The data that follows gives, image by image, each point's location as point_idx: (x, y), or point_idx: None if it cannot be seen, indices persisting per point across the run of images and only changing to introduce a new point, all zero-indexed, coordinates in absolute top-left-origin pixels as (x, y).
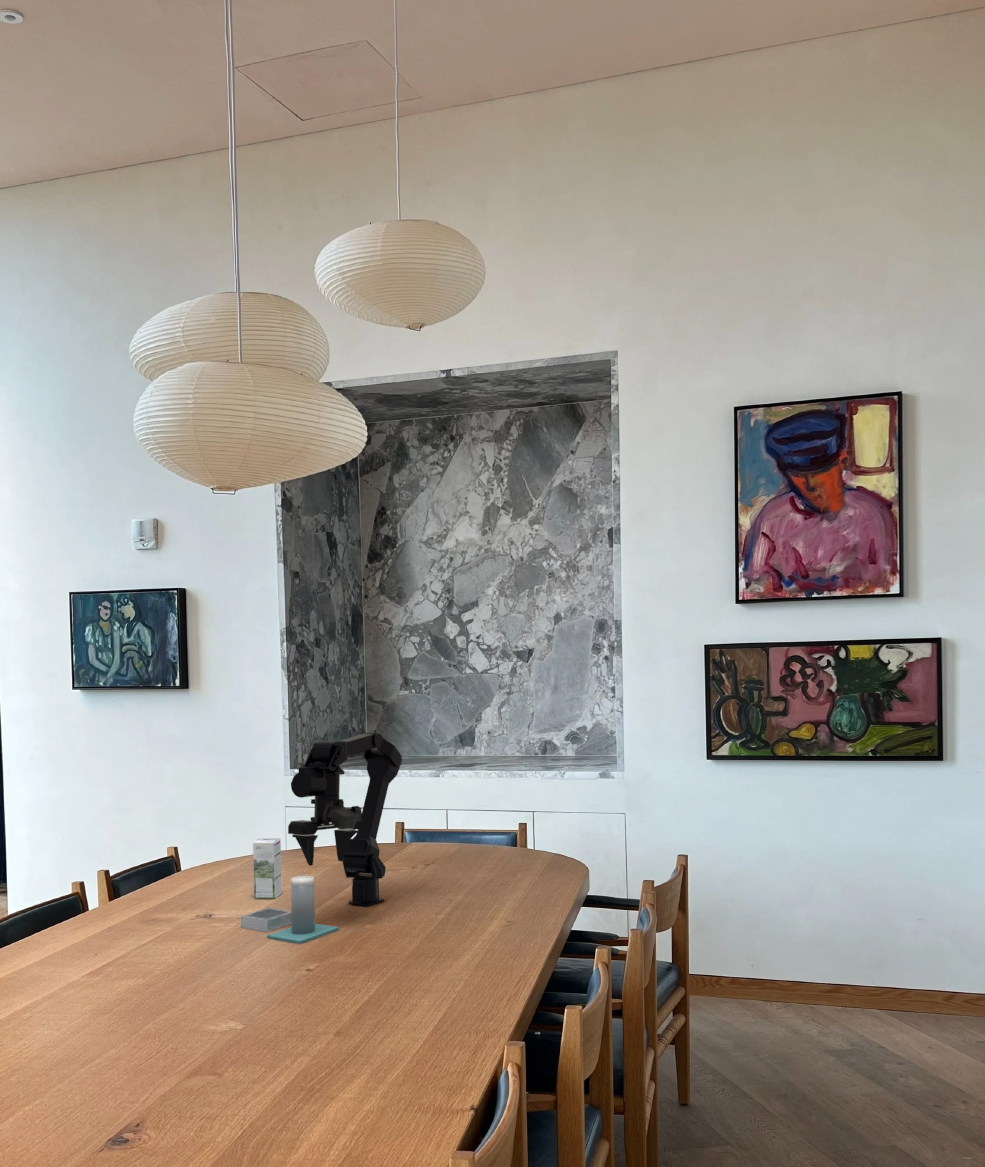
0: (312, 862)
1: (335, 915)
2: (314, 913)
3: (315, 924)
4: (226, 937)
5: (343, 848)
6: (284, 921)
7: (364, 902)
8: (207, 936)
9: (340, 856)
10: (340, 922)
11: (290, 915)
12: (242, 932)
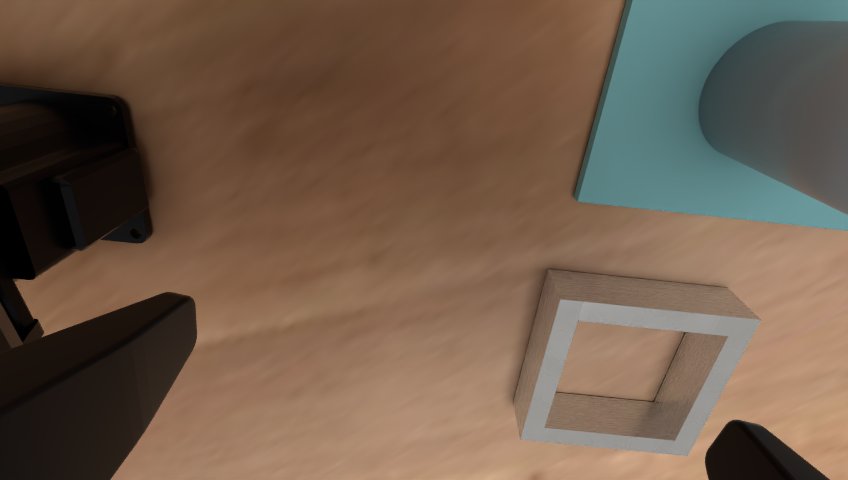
0: (772, 447)
1: (358, 164)
2: (831, 36)
3: (612, 120)
4: (820, 384)
5: (7, 416)
6: (627, 288)
7: (108, 136)
8: (803, 446)
9: (153, 353)
10: (476, 36)
11: (590, 295)
12: (738, 373)
